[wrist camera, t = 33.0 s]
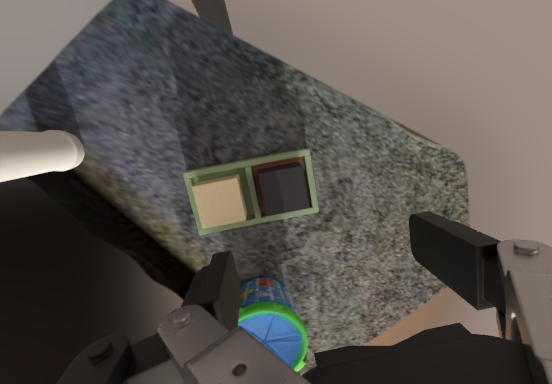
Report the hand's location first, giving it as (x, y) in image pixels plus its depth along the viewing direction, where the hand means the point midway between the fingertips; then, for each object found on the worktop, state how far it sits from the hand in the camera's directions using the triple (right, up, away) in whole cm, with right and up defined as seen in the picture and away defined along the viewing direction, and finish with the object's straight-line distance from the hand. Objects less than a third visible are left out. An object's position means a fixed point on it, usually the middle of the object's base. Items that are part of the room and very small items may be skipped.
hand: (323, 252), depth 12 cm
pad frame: (-5, +3, +26) cm, 26 cm away
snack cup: (-4, -14, +30) cm, 33 cm away
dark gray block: (-1, +4, +25) cm, 25 cm away
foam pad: (-9, +2, +25) cm, 27 cm away
